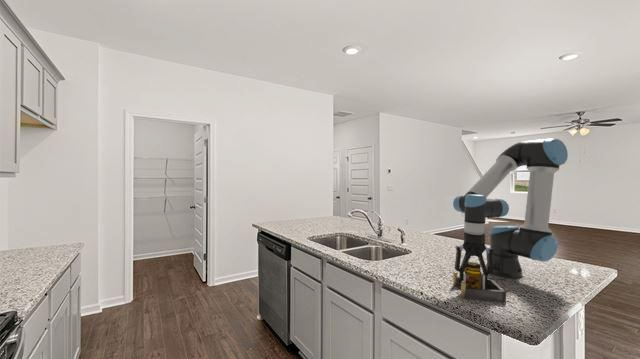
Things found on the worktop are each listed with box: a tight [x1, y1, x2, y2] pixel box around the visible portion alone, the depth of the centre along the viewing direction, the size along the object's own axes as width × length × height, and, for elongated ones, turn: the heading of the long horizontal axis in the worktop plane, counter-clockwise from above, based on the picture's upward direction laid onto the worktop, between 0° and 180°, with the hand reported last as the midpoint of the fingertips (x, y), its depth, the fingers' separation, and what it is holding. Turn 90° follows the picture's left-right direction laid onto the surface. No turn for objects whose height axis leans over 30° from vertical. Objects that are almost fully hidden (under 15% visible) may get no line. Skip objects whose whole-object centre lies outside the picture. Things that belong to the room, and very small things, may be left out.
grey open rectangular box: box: [452, 271, 507, 303], centre depth 116 cm, size 16×14×6 cm
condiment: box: [464, 261, 483, 289], centre depth 117 cm, size 7×8×12 cm
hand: (473, 289), depth 116 cm, fingers open, 6 cm apart
